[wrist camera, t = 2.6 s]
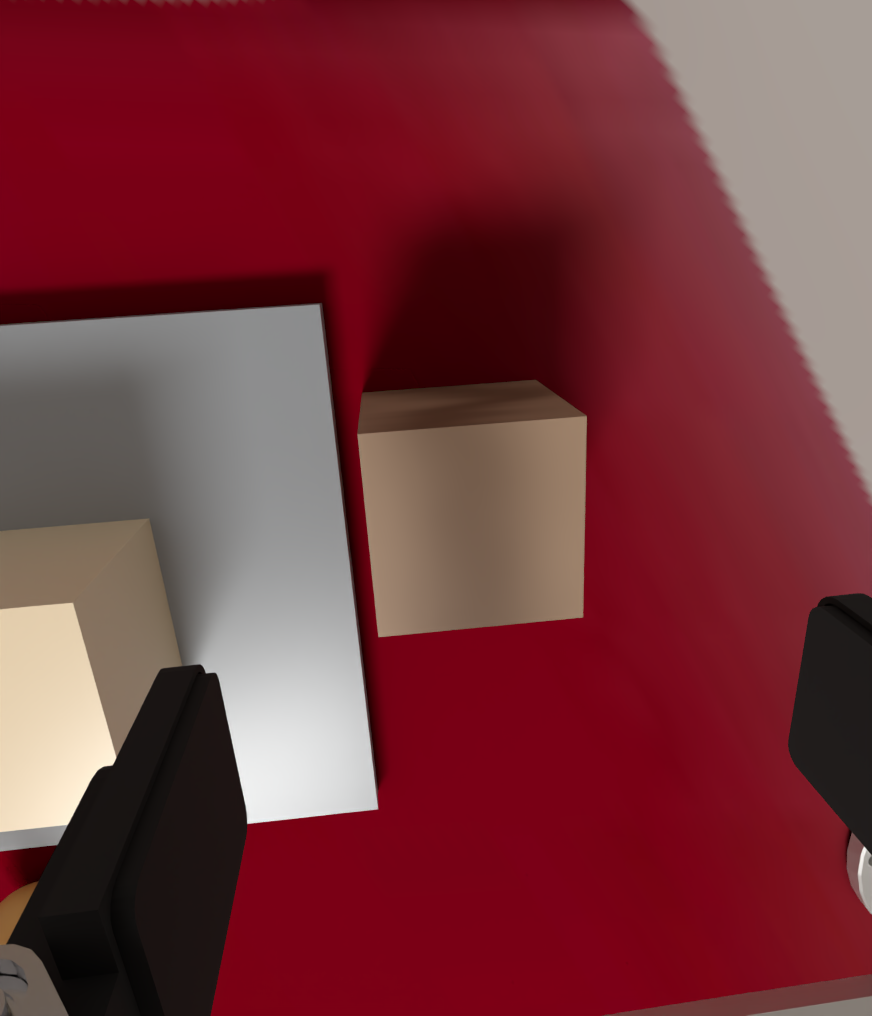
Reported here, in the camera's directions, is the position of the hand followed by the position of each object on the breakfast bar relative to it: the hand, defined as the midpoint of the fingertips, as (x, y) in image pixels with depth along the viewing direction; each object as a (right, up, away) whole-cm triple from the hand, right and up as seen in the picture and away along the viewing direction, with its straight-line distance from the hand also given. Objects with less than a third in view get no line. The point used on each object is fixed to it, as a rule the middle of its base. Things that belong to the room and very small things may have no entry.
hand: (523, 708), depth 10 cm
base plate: (-14, -1, +14) cm, 20 cm away
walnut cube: (-1, +4, +14) cm, 14 cm away
